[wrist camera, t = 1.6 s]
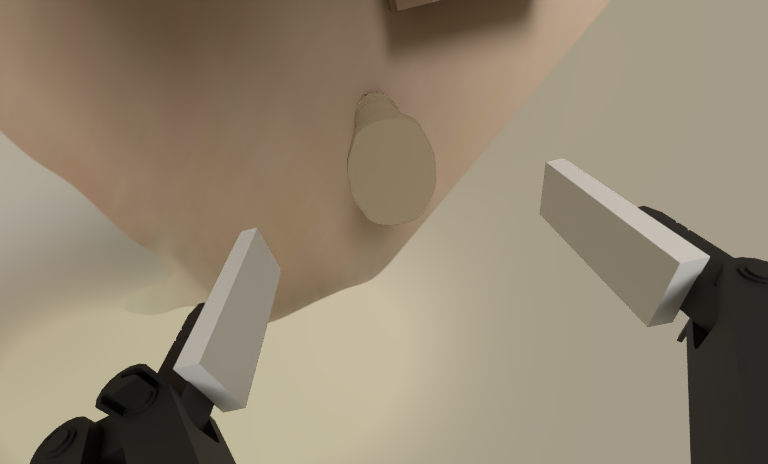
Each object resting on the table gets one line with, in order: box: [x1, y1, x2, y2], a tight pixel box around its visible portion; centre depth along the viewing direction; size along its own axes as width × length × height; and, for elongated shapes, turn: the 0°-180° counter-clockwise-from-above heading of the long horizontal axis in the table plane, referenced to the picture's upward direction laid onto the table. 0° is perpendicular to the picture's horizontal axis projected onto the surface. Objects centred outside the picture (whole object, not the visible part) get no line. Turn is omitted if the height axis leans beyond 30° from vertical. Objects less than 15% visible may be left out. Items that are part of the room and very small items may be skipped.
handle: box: [347, 91, 436, 225], centre depth 23 cm, size 5×6×15 cm
